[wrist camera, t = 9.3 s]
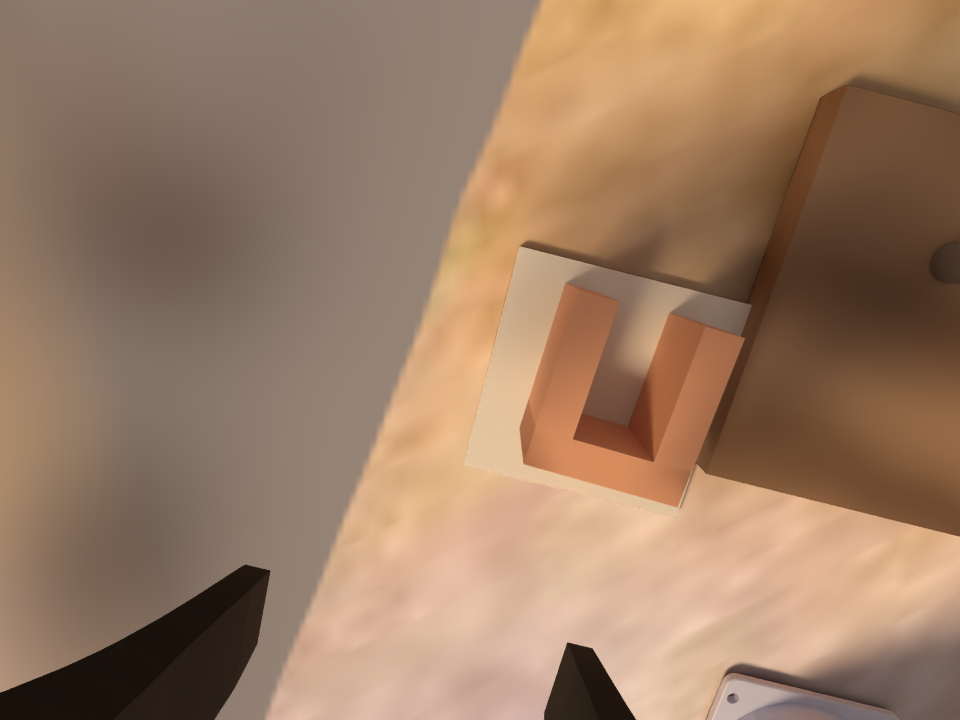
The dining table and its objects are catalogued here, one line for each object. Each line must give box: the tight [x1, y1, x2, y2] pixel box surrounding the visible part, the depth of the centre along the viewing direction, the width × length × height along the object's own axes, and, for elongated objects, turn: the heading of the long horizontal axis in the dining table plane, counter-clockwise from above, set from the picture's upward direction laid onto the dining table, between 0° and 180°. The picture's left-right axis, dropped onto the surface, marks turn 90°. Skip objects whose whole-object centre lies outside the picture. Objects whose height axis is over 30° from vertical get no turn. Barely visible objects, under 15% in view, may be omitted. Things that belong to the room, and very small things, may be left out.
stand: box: [696, 85, 960, 536], centre depth 17 cm, size 14×11×6 cm
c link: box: [519, 283, 745, 508], centre depth 19 cm, size 6×5×4 cm
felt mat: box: [463, 246, 752, 517], centre depth 21 cm, size 9×9×1 cm
